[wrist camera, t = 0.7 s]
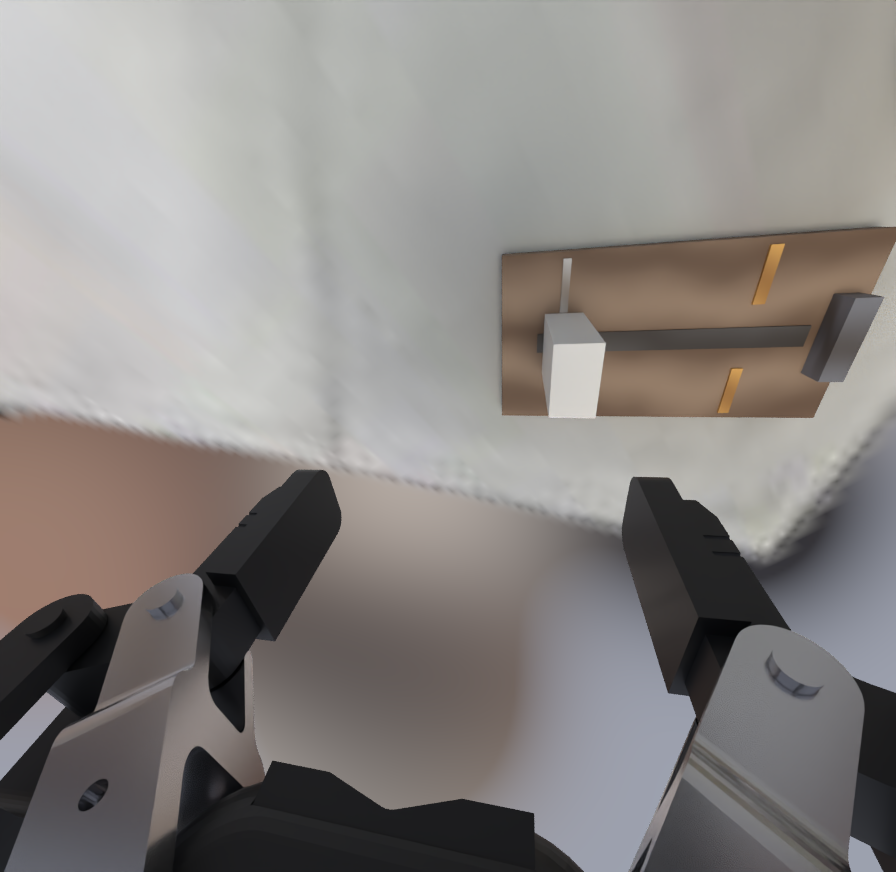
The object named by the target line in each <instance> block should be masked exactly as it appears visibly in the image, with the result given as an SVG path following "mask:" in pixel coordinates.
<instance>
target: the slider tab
mask: <svg viewBox="0 0 896 872" xmlns="http://www.w3.org/2000/svg"><path fill="white" fill-rule="evenodd" d="M605 346H606V342H605V341H604V340H603V338H602V337H601V336H600V334H599V333H598V332H597V330H596V329H595V328H594V326H593V325H592V324H591V322H590V321H589V319H588V318H587V317H586V315H585V314H584V313H583V312H582V313H558V314H545V321H544V340H543V358H542V377H543V384H544V390H545V397H546V404H547V410H548V417H549V418H596V411H597V404H598V397H599V389H600V382H601V375H602V368H603V361H604V353H605Z"/></svg>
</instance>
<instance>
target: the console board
mask: <svg viewBox="0 0 896 872" xmlns="http://www.w3.org/2000/svg"><path fill="white" fill-rule="evenodd" d="M895 242H896V227H869V228H855V229H842V230H828V231H814V232H801V233H787V234H773V235H760V236H746V237H732V238H719V239H705V240H691V241H678V242H664V243H650V244H636V245H623V246H609V247H595V248H582V249H568V250H554V251H541V252H527V253H513V254H503V255H502V415H526V416H548V410H547V404H546V397H545V390H544V384H543V377H542V358H543V340H544V321H545V314H558V313H582V312H583V313H584V314H585V315H586V317H587V318H588V319H589V321H590V322H591V324H592V325H593V326H594V328H595V329H596V330H597V332H598V333H599V334H600V336H601V337H602V338H603V340H604V341H605V342H606V346H605V353H604V361H603V368H602V375H601V382H600V389H599V397H598V404H597V411H596V416H651V417H776V418H813V417H814V415H815V413H816V411H817V409H818V407H819V404H820V402H821V400H822V398H823V396H824V394H825V392H826V389H827V387H828V385H829V383H830V382H843V381H844V379H845V377H846V375H847V373H848V371H849V369H850V367H851V365H852V363H853V361H854V359H855V357H856V354H857V352H858V350H859V348H860V346H861V344H862V342H863V340H864V338H865V336H866V334H867V332H868V330H869V328H870V326H871V324H872V321H873V319H874V317H875V315H876V313H877V311H878V309H879V307H880V305H881V303H882V301H883V299H884V297H882V296H877V295H871V293H872V291H873V289H874V287H875V284H876V282H877V280H878V278H879V276H880V274H881V272H882V269H883V267H884V265H885V263H886V261H887V259H888V257H889V254H890V252H891V250H892V248H893V246H894V244H895Z"/></svg>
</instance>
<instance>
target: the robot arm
mask: <svg viewBox="0 0 896 872" xmlns="http://www.w3.org/2000/svg"><path fill="white" fill-rule="evenodd" d="M340 526H341V510H340V507H339V504H338V501H337V498H336V495H335V492H334V489H333V486H332V483H331V480H330V477H329V475H328V473H327V472H326V471H324V470H296V471H295V472H294V473H293V474H292V475H291V476H290V477H289V478H288V479H287V481H286V482H285V483H284V484H283V485H282V486H281V487H279V488H277V489H276V490H274V491H272V492H271V493H269V494H268V495H267V496H265V497H264V498H262V499H261V500H260V501H259V502H258V503H257V505H256V506H255V507H254V508H253V509H252V510H251V511H250V512H249V515H247V516H245V518H244V519H243V520H242V521H241V522H240V523H239V526H238V527H235V529H234V530H233V531H232V532H231V533H230V534H229V535H228V536H227V537H226V538H225V539H224V540H223V541H222V543H221V544H220V545H219V546H218V547H217V548H216V549H215V550H214V551H213V552H212V554H211V555H210V556H209V557H208V558H207V559H206V560H205V561H204V562H203V563H202V564H201V565H200V567H199V568H198V569H197V570H196V571H195V572H194V573H193V574H181V575H176V576H174V577H171V578H168V579H166V580H163V581H161V582H160V583H158V584H156V585H154V586H153V587H151V588H150V589H149V590H147V591H146V592H144V593H143V594H142V595H141V596H140V597H139V598H138V599H137V600H136V601H135V602H134V603H131V604H127V605H122V606H117V607H112V608H108V609H101V607H100V606H99V605H98V604H97V603H96V602H95V601H94V600H93V599H92V598H91V597H90V596H89V595H85V594H77V595H71V596H68V597H65V598H62V599H59V600H57V601H55V602H53V603H51V604H49V605H47V606H45V607H43V608H41V609H40V610H38V611H36V612H35V613H33V614H32V615H31V616H29V617H28V618H26V619H25V620H24V621H23V622H22V623H20V624H19V625H18V626H17V627H15V628H14V629H13V630H12V631H11V632H10V633H8V634H7V635H6V636H5V637H4V638H3V639H2V640H0V740H1V739H2V738H3V737H4V736H5V735H6V734H7V733H8V732H9V730H10V729H11V728H12V727H13V726H14V725H15V724H16V723H17V722H18V721H19V720H20V719H21V718H22V717H23V716H24V715H25V714H26V712H27V711H28V710H29V709H30V708H31V707H32V706H33V705H34V704H35V703H36V702H37V701H38V700H39V699H40V698H41V697H42V696H43V695H44V694H45V693H46V692H47V693H49V694H50V695H51V696H53V697H54V698H55V699H56V700H58V701H59V702H60V703H62V704H63V705H64V706H66V707H65V708H64V709H63V710H62V711H61V713H60V714H59V715H58V716H57V717H56V718H55V720H54V721H53V722H52V723H51V724H50V725H49V726H48V727H47V728H46V730H45V731H44V732H43V733H42V734H41V735H40V736H39V738H38V739H37V740H36V741H35V742H34V743H33V744H32V745H31V747H30V748H29V749H28V750H27V751H26V752H25V753H24V755H23V756H22V757H21V758H20V759H19V760H18V761H17V763H16V764H15V765H14V766H13V767H12V768H11V769H10V770H9V772H8V773H7V774H6V775H5V776H4V777H3V778H2V780H1V781H0V872H584V871H583V870H582V869H581V868H580V867H578V865H577V864H576V863H575V862H574V861H573V860H572V859H571V858H570V857H569V856H567V855H566V854H565V853H563V852H562V851H561V850H560V849H559V848H557V847H556V846H555V845H554V844H552V843H551V842H549V841H548V840H546V839H544V838H543V837H541V836H539V835H538V834H536V833H535V832H534V813H530V812H525V811H520V810H515V809H510V808H505V807H500V806H495V805H490V804H485V803H480V802H475V801H470V800H465V799H458V800H453V801H446V802H440V803H434V804H427V805H421V806H415V807H408V808H402V809H396V810H389V809H385V808H383V807H381V806H380V805H378V804H376V803H375V802H373V801H372V800H371V799H369V798H368V797H366V796H365V795H363V794H362V793H360V792H358V791H357V790H355V789H354V788H353V787H351V786H350V785H348V784H347V783H345V782H344V781H342V780H340V779H339V778H337V777H336V776H335V775H333V774H332V773H330V772H326V771H321V770H316V769H311V768H306V767H302V766H296V765H291V764H287V763H281V762H277V761H272V763H271V765H270V767H269V769H268V771H267V774H266V776H265V772H264V768H263V764H262V760H261V757H260V755H259V752H258V749H257V745H256V740H255V727H254V698H253V697H254V696H253V665H252V655H251V652H250V651H249V648H250V647H251V645H252V644H253V642H254V641H255V639H261V640H270V641H276V639H277V637H278V635H279V634H280V632H281V630H282V629H283V627H284V625H285V623H286V622H287V620H288V618H289V616H290V615H291V613H292V611H293V610H294V608H295V606H296V604H297V603H298V601H299V599H300V598H301V596H302V594H303V592H304V591H305V589H306V587H307V585H308V584H309V582H310V580H311V578H312V577H313V575H314V573H315V571H316V570H317V568H318V567H319V565H320V563H321V561H322V560H323V558H324V556H325V554H326V553H327V551H328V549H329V547H330V546H331V544H332V542H333V541H334V539H335V537H336V535H337V534H338V532H339V529H340ZM622 541H623V547H624V551H625V554H626V558H627V561H628V564H629V567H630V571H631V574H632V577H633V580H634V584H635V587H636V590H637V593H638V597H639V600H640V603H641V606H642V609H643V613H644V616H645V619H646V623H647V626H648V629H649V632H650V636H651V639H652V642H653V645H654V649H655V652H656V655H657V658H658V662H659V665H660V668H661V671H662V675H663V678H664V681H665V684H666V688H667V691H668V693H671V694H678V695H686V696H689V697H690V699H691V702H692V705H693V708H694V711H695V714H696V718H695V720H694V722H693V724H692V726H691V729H690V731H689V733H688V736H687V738H686V740H685V743H684V745H683V747H682V750H681V752H680V755H679V757H678V759H677V762H676V764H675V766H674V769H673V771H672V773H671V776H670V778H669V780H668V783H667V785H666V788H665V790H664V792H663V795H662V797H661V799H660V802H659V804H658V807H657V809H656V811H655V814H654V816H653V818H652V820H651V823H650V825H649V827H648V829H647V831H646V833H645V836H644V838H643V840H642V842H641V844H640V846H639V849H638V851H637V853H636V856H635V858H634V860H633V863H632V865H631V867H630V869H629V872H851V870H850V867H849V862H848V849H849V840H850V836H852V837H854V838H856V839H858V840H860V841H862V842H864V843H866V844H868V845H870V846H871V848H872V850H873V852H874V854H875V856H876V858H877V860H878V862H879V864H880V866H881V868H882V870H883V871H884V872H896V693H894V692H891V691H888V690H886V689H883V688H880V687H877V686H874V685H871V684H869V683H866V682H864V681H861V680H859V679H856V678H854V677H852V676H851V674H850V673H849V672H848V671H847V670H846V669H845V667H844V666H843V665H842V664H841V663H839V661H837V660H836V659H835V658H834V657H833V656H832V655H831V654H830V653H828V652H827V651H826V650H825V649H823V648H822V647H820V646H819V645H817V644H816V643H814V642H812V641H811V640H809V639H807V638H805V637H803V636H801V635H799V634H797V633H795V632H792V631H791V629H790V628H789V627H788V625H787V624H786V622H785V621H784V619H783V618H782V616H781V615H780V613H779V612H778V610H777V608H776V607H775V606H774V604H773V603H772V601H771V599H770V598H769V596H768V595H767V593H766V592H765V590H764V588H763V587H762V585H761V584H760V582H759V581H758V579H757V578H756V576H755V575H754V573H753V572H752V570H751V569H750V567H749V565H748V564H747V562H746V561H745V559H744V558H743V557H741V556H740V552H739V550H738V549H737V547H736V545H735V544H734V542H733V541H732V540H730V539H729V535H728V533H727V532H726V530H725V529H724V527H723V525H722V524H721V522H720V521H719V519H718V518H717V517H716V516H715V515H714V514H713V513H711V512H710V511H709V510H708V509H706V508H705V507H704V506H703V505H701V504H700V503H699V502H697V501H696V500H683V499H682V498H681V496H680V494H679V492H678V491H677V489H676V487H675V485H674V484H673V482H672V480H671V479H670V478H662V477H633V478H632V479H631V482H630V486H629V491H628V496H627V502H626V507H625V513H624V518H623V523H622Z"/></svg>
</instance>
